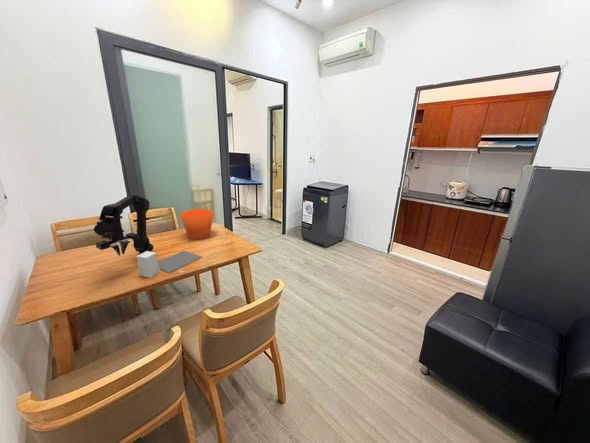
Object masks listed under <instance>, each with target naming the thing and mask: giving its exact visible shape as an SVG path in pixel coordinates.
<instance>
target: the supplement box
mask: <svg viewBox="0 0 590 443" xmlns="http://www.w3.org/2000/svg"><path fill="white" fill-rule="evenodd" d="M157 254H158V253H157V252H154V251H152V252H149V251H146V252H144V253H142V254H140V255H136V261H137V267H138V271H139V272H138V273H139V276H140V277H145V278H149V279H151V278H153V277H154V276H155V275H157V274H159V273H160V271H161V270H160V269H159V264H158V261H159V260H158V255H157Z"/></svg>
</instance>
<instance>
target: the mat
mask: <svg viewBox="0 0 590 443" xmlns="http://www.w3.org/2000/svg"><path fill="white" fill-rule="evenodd" d="M202 258H203V256H201V255H198V254H195V253H192V252H190V251H186V250H182V251H180V252H178V253H175V254H173V255H171V256H167V257H166V258H164V259H161V260H158V264H159V270H160V271H163V272H164V273H168V274H171V273H173V272H176V271H178V270H180V269H182V268H183V267H186V266H187V265H190V264H193V262H195V261H198V260H200V259H202Z"/></svg>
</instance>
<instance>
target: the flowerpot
mask: <svg viewBox="0 0 590 443" xmlns="http://www.w3.org/2000/svg"><path fill="white" fill-rule="evenodd" d="M214 215H215V214H214V211H213V210H212V209H206V208H194V209H188V210H185V211H182V212H180V213H179V216H180V219H181V221H182V224H183V226H184V230H185V231H186V234H187V237H188V239H189V240H192V241H201V240H207V239H209V238H210V236H211V231H212V226H213V225H212V224H213V221H214V220H213V219H214Z"/></svg>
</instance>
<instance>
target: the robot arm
mask: <svg viewBox="0 0 590 443" xmlns="http://www.w3.org/2000/svg"><path fill="white" fill-rule="evenodd" d="M131 205H132V206H133V207H132V208H133V210H134V212H136V233H135V232H128V233H126V234H125V236H124V232H125V231H124V229H123V226H122V220H121V219H123V216H122V214H123V212H124V209H126V208H128V207H129V206H131ZM149 208H150V201H149V200H148V199H146V198H144V197H141V196H139V195H137V194H127V196H126V197H123V198H121V199H120V200H118V201H116V202H115V203H110V204H106V205H104V206H103V207H102V209H101V211H100V216H99V218H98V220H99V221H97V222H96V224H95V225H94V228H93V231H94V234H96V235H98V236H101V239H106V240H102V241H97V242H96V243H95V248H96V249H99V250H100V251H102V250H106V249H113V250H114V251H115V253H116V254H117V255H118V256H121V254H122V255H125V253H126V249H127V247H128V245H129V244H130V243H131V241H130V239H131V240H132V242H133V244H132V246H133V248H134V250H135V251H136V252H138V255H140V254H142V253H144V252H146V251H149V252H153V249H154V245H153V244H152V243H151V242H150V239H149V237H148V236H147V212H148V211H149ZM107 240H109V241H107ZM118 243H119V244H120V245H119V244H118ZM138 255H137V256H138Z"/></svg>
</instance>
